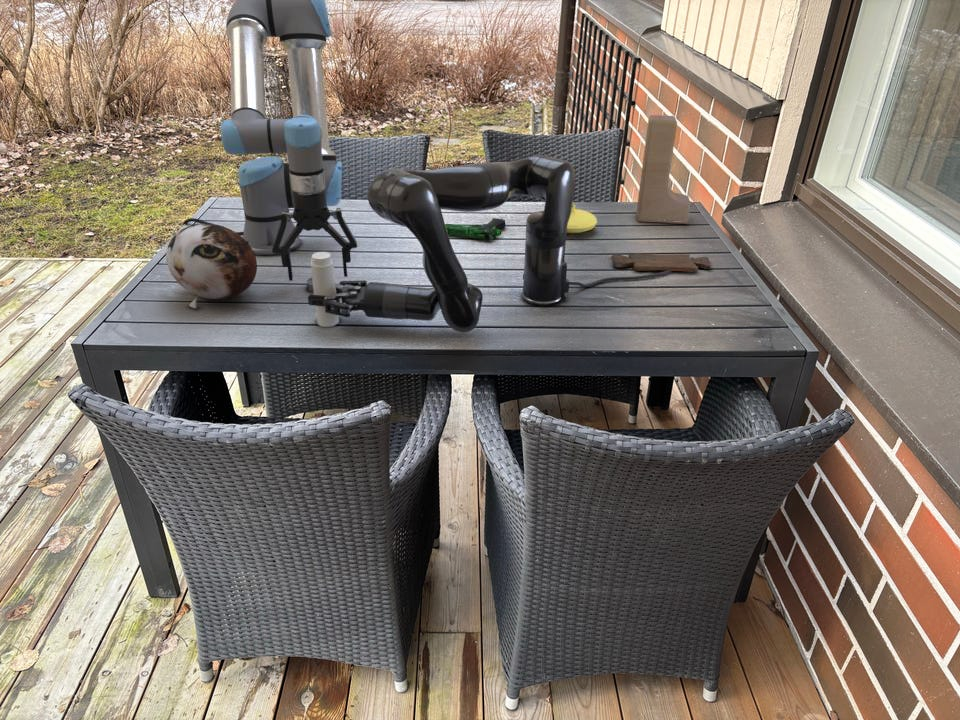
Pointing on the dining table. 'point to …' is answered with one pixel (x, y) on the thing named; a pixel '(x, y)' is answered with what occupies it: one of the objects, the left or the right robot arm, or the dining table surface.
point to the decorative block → (660, 176)
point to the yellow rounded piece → (580, 221)
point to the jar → (324, 285)
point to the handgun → (478, 230)
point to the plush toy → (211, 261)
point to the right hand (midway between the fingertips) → (313, 294)
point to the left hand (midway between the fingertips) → (318, 276)
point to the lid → (310, 285)
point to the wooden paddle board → (661, 262)
